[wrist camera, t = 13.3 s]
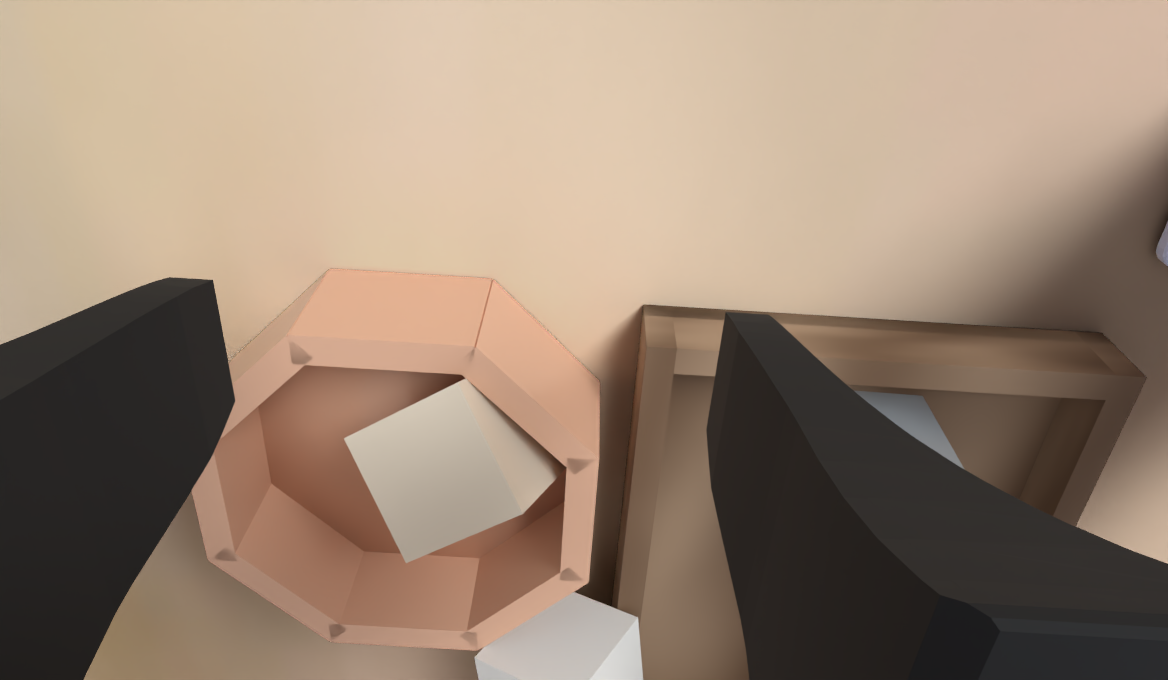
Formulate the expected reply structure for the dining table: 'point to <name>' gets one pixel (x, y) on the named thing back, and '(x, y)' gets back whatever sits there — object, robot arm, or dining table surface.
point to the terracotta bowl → (338, 490)
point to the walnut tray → (865, 363)
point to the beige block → (450, 468)
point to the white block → (567, 645)
